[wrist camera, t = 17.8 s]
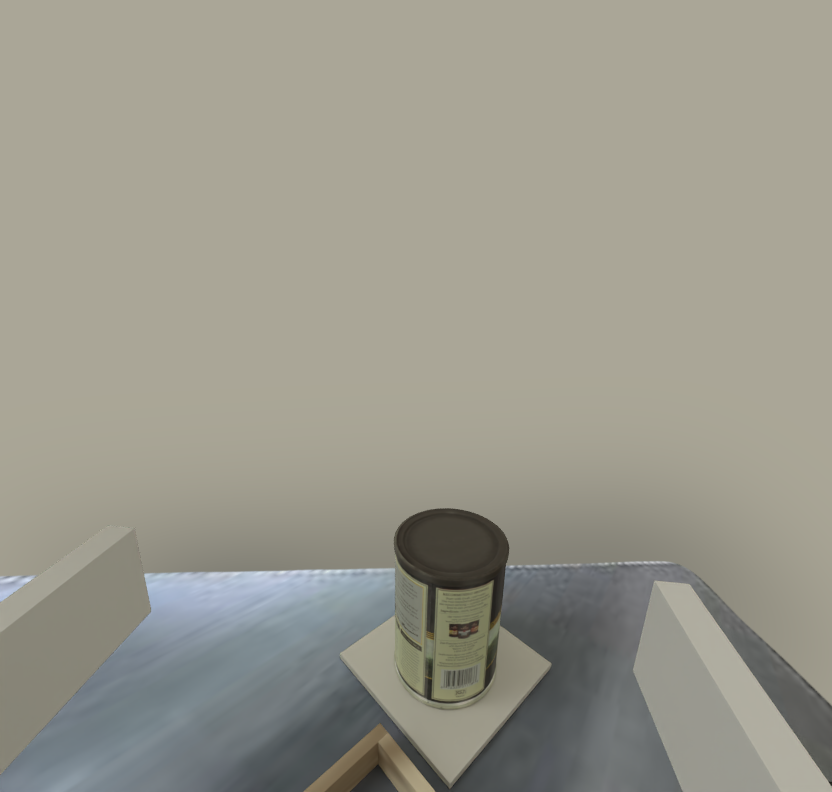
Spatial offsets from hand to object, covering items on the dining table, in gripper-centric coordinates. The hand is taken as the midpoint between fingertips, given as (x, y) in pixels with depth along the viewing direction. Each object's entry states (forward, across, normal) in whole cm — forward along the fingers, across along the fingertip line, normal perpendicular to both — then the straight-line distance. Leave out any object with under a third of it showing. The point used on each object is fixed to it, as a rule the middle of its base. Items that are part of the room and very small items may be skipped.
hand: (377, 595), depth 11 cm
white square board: (+24, +2, -30) cm, 38 cm away
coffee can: (+24, +2, -30) cm, 38 cm away
